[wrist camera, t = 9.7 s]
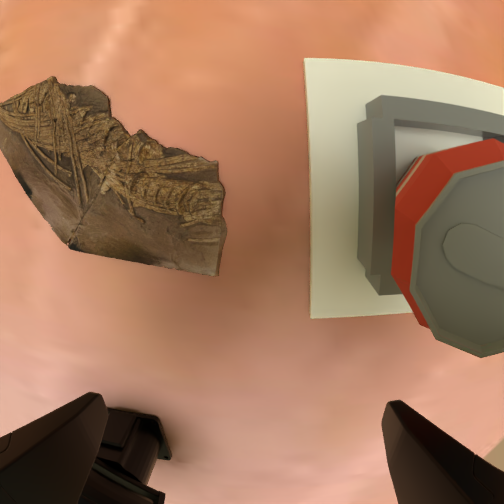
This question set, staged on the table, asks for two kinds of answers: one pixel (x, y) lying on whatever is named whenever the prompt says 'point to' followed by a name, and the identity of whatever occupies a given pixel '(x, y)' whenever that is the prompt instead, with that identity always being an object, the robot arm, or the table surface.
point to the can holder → (376, 167)
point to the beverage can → (454, 244)
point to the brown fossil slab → (112, 181)
